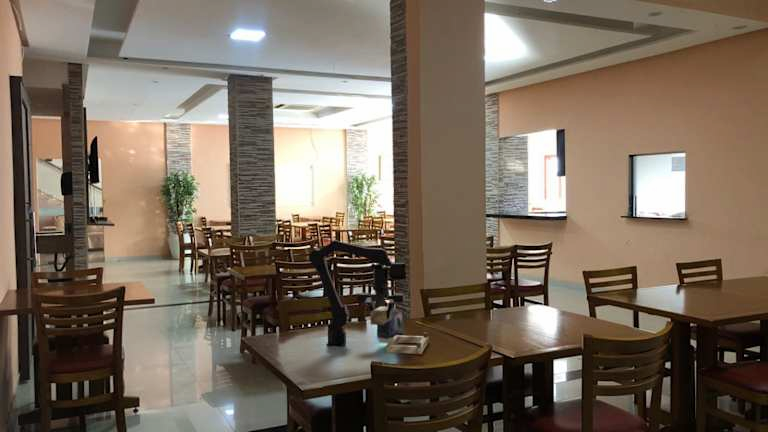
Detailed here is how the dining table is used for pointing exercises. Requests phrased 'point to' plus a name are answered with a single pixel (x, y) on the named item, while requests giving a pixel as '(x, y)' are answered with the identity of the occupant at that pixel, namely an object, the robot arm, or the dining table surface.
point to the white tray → (420, 341)
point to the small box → (391, 325)
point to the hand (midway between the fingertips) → (381, 319)
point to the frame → (380, 316)
